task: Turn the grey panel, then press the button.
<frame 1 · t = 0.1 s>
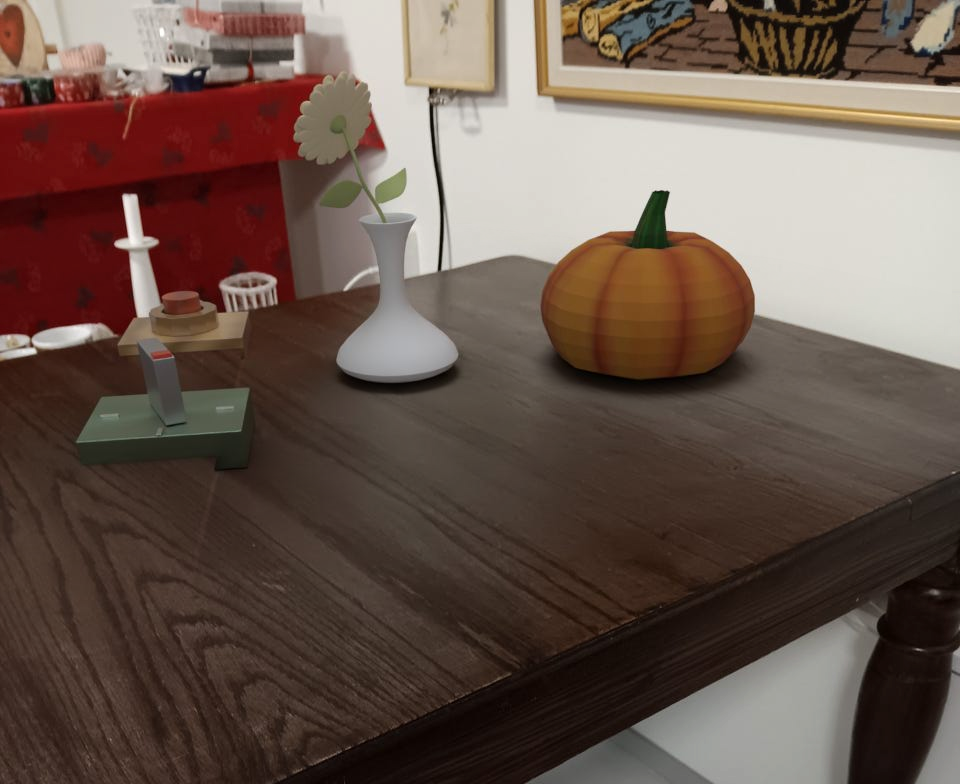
grey panel: (161, 379, 76), point 6 cm above the table, hinge at -70.0°
flower in vase: (390, 377, 93), on the table
button block: (189, 348, 102), on the table
button: (181, 304, 100), point 4 cm above the table, slide at 0.1 cm
pumpkin: (641, 364, 95), on the table
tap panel: (175, 449, 79), on the table
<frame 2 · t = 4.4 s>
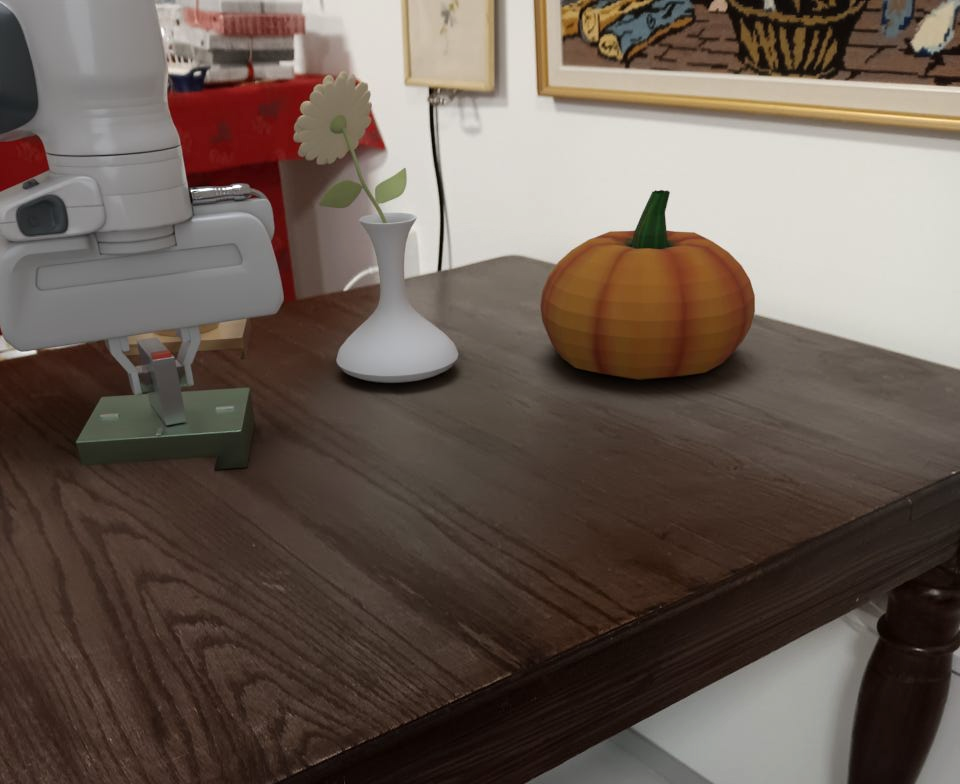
hand: (162, 388, 76), 5 cm above the table, tool pointing down, fingers closed on grey panel, 2 cm apart
grey panel: (161, 379, 76), point 6 cm above the table, hinge at -70.1°, touching gripper
everything else where it was.
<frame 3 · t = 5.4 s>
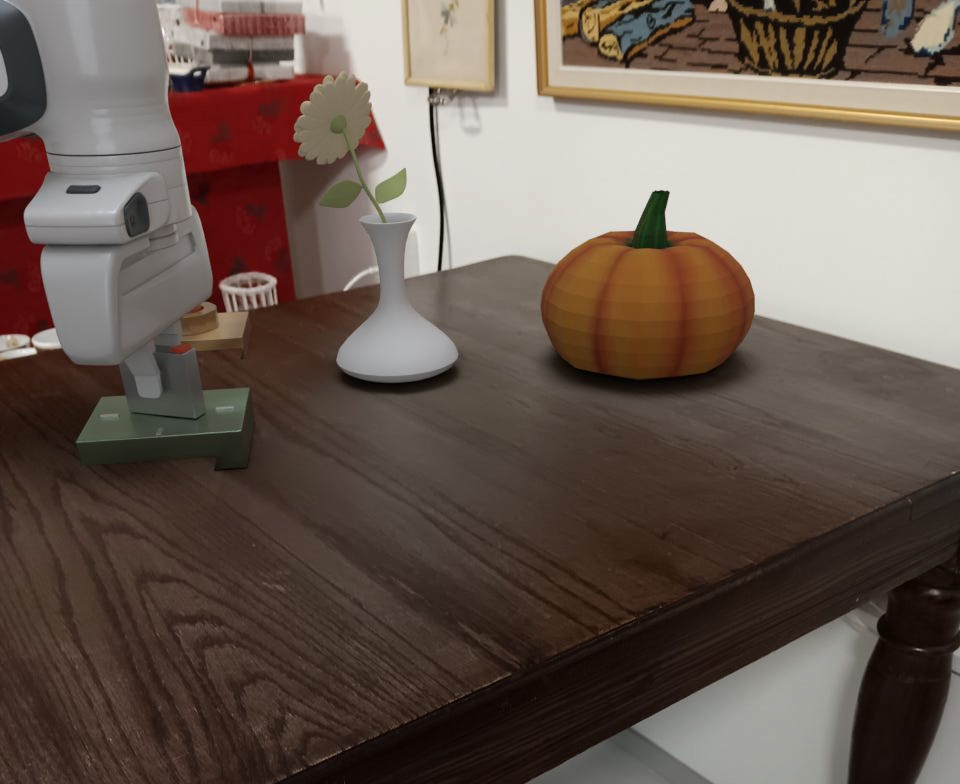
hand: (161, 388, 77), 5 cm above the table, tool pointing down, fingers closed, pressing on grey panel
grey panel: (161, 379, 76), point 6 cm above the table, hinge at -25.4°, touching gripper
everything else where it was.
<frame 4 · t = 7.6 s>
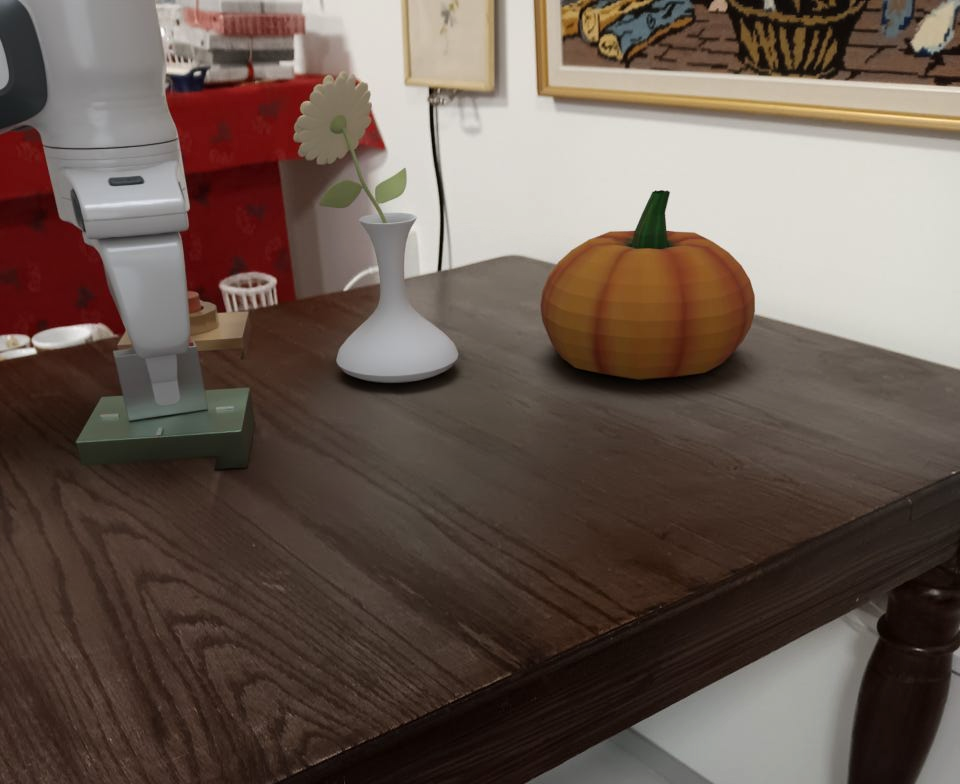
hand: (159, 383, 76), 5 cm above the table, tool pointing down, fingers open, 8 cm apart
grey panel: (161, 379, 76), point 6 cm above the table, hinge at 14.4°
everything else where it was.
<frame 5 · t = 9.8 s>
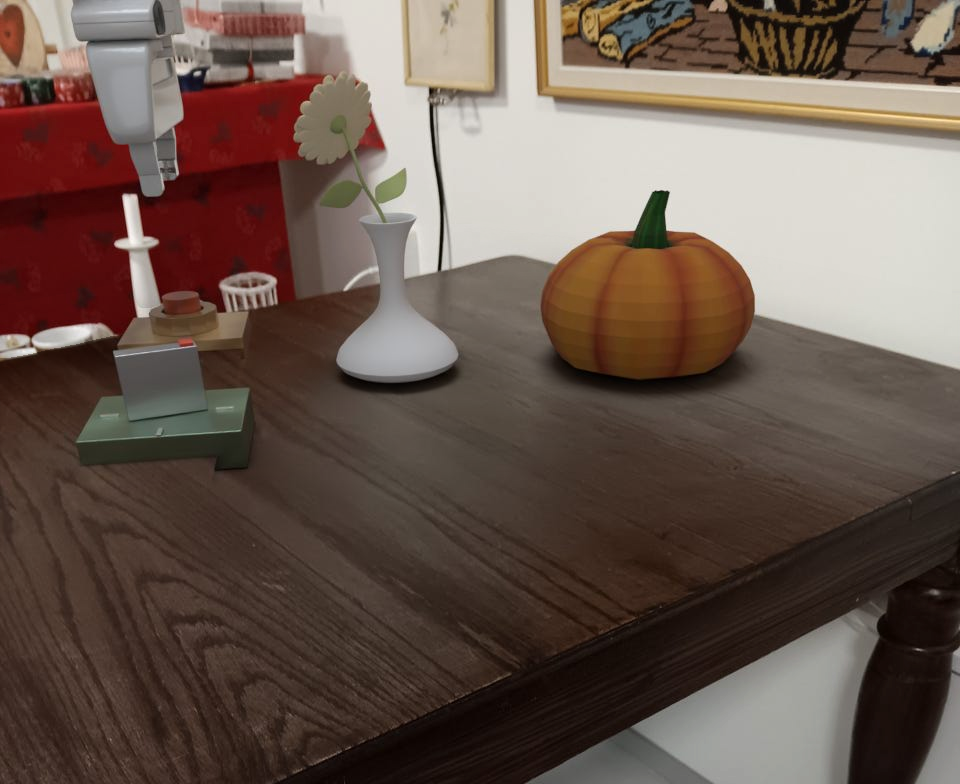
hand: (162, 187, 93), 15 cm above the table, tool pointing down, fingers open, 8 cm apart
nothing on the table moved.
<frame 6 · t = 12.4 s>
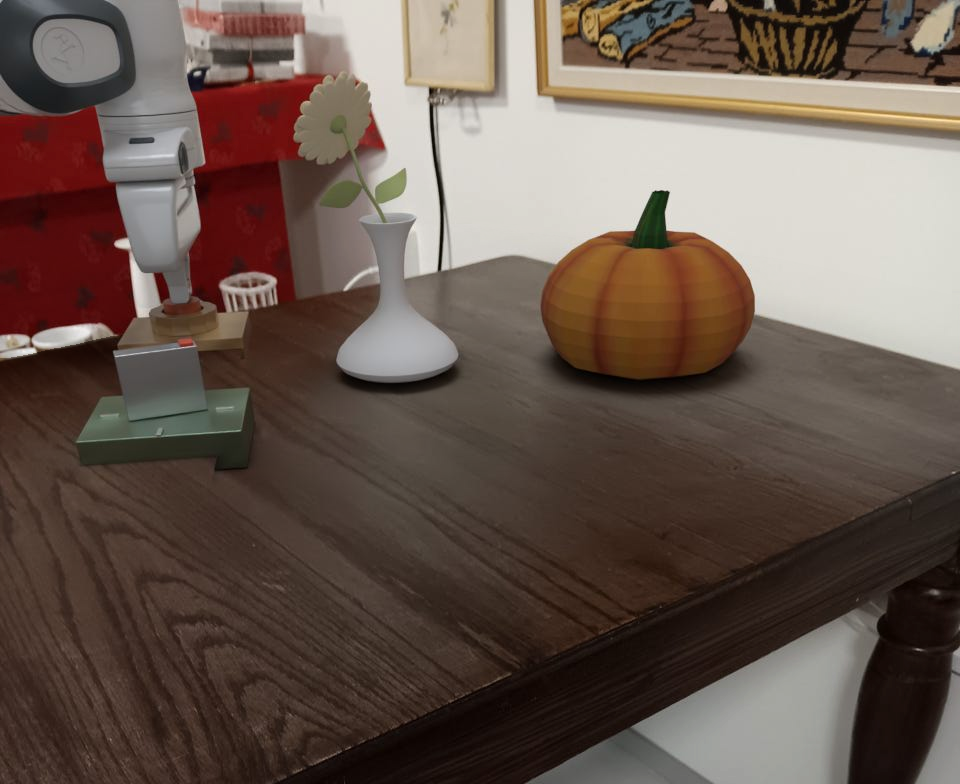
hand: (182, 300, 99), 5 cm above the table, tool pointing down, fingers closed, pressing on button
button: (182, 309, 100), point 4 cm above the table, slide at -0.4 cm, touching gripper
everything else where it was.
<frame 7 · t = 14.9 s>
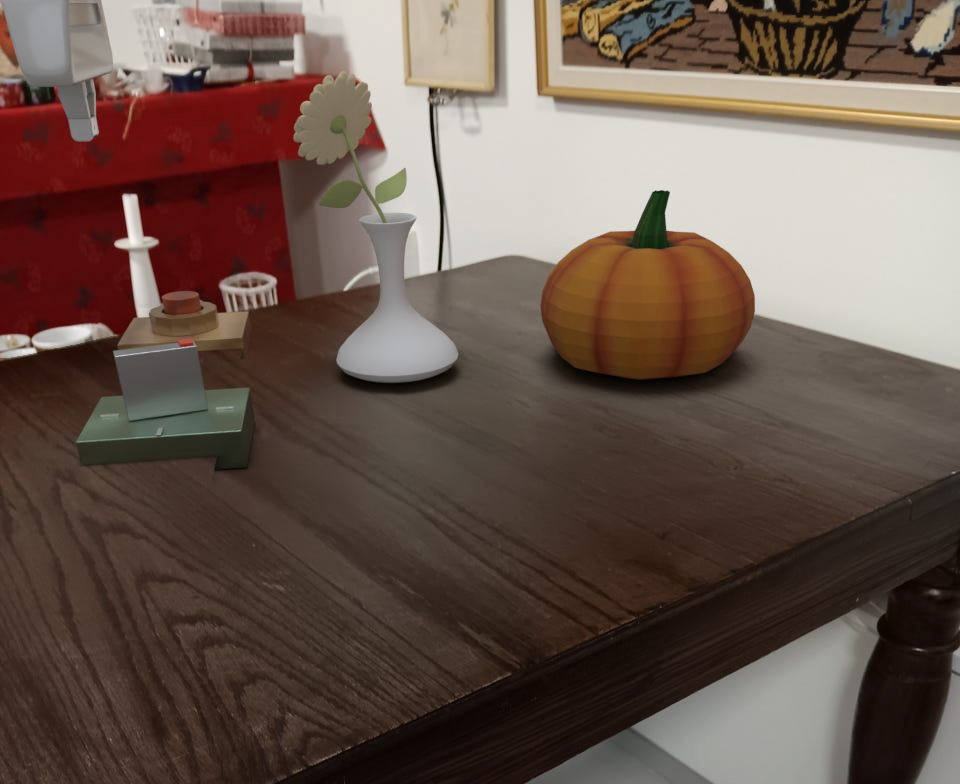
hand: (86, 139, 88), 20 cm above the table, tool pointing down, fingers closed
button: (181, 304, 100), point 4 cm above the table, slide at 0.1 cm
everything else where it was.
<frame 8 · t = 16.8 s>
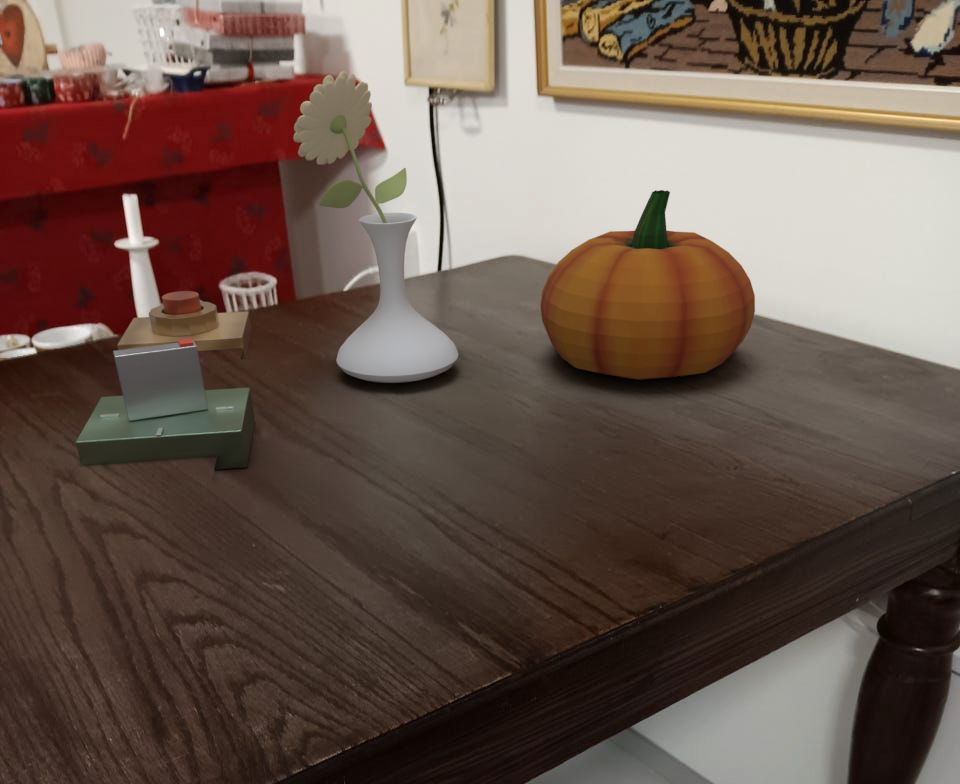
nothing on the table moved.
at the end: grey panel at +14° (first picture: -70°); button pushed in 1.0 cm at the most during the clip, back to where it started at the end; button slide at 0.1 cm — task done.
